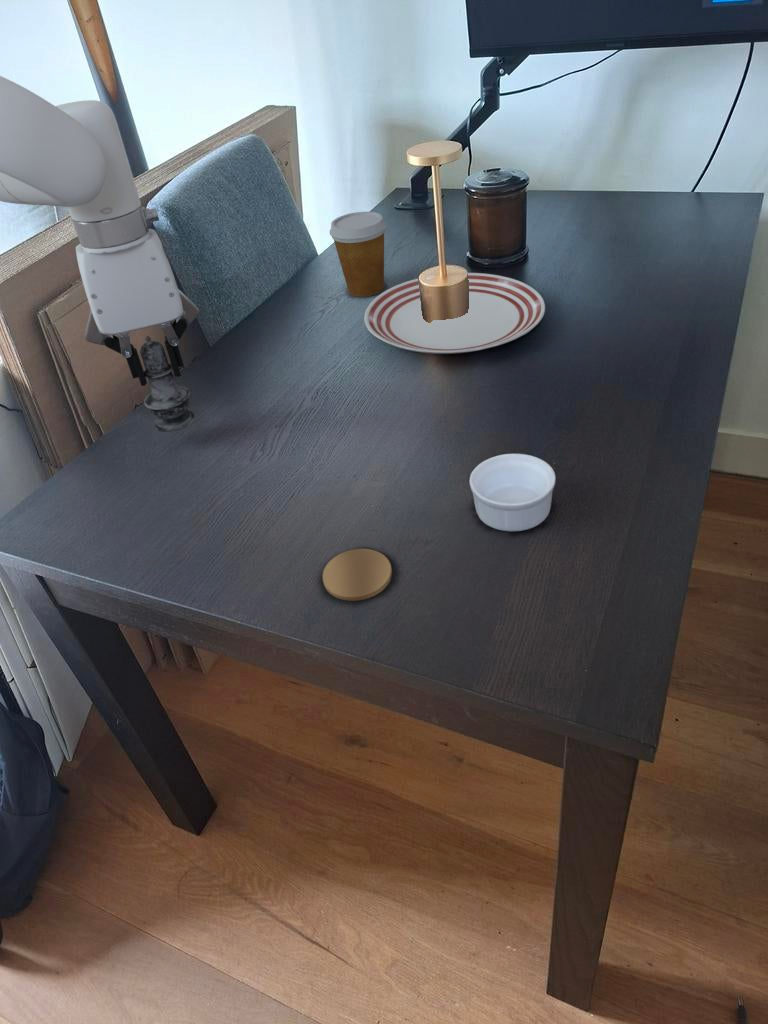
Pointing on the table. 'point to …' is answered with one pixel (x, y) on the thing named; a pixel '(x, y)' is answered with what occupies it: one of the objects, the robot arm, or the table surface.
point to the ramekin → (512, 491)
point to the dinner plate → (489, 322)
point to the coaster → (357, 574)
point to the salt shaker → (164, 390)
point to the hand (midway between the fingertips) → (159, 375)
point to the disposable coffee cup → (361, 251)
